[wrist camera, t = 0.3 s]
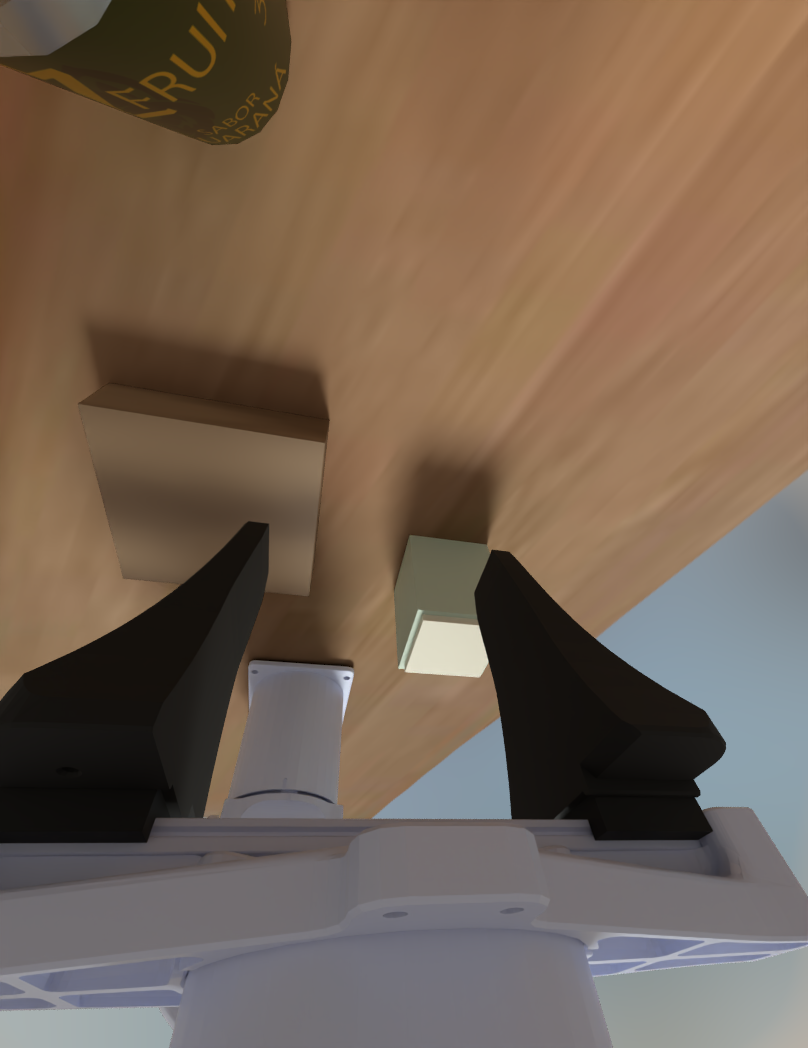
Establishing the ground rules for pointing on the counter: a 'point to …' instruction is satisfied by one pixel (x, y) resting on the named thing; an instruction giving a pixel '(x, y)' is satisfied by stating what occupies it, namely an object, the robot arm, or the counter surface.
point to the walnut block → (204, 481)
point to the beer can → (159, 58)
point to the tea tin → (440, 607)
